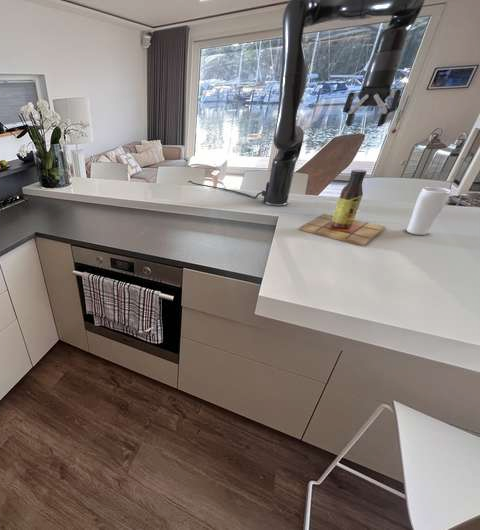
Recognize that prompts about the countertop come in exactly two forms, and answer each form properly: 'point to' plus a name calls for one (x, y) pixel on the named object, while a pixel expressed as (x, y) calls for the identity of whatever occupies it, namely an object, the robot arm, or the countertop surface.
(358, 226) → the board
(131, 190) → the countertop surface
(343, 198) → the sauce bottle
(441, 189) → the drinking glass
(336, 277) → the countertop surface
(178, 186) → the countertop surface
